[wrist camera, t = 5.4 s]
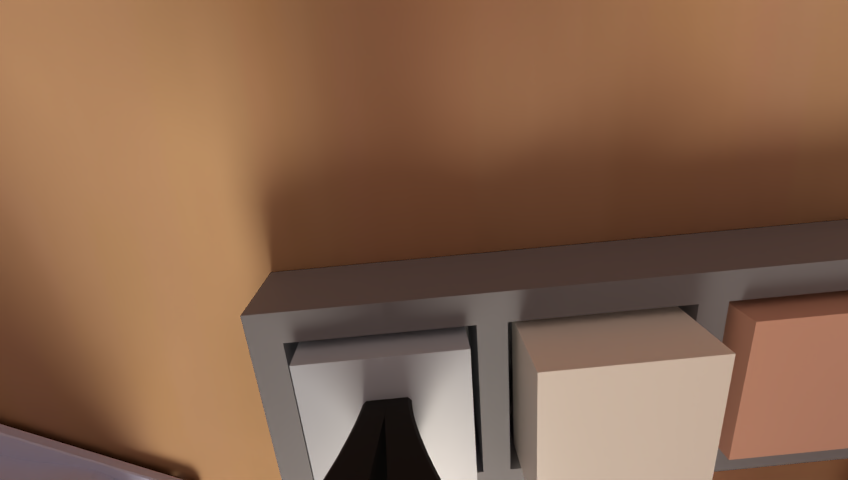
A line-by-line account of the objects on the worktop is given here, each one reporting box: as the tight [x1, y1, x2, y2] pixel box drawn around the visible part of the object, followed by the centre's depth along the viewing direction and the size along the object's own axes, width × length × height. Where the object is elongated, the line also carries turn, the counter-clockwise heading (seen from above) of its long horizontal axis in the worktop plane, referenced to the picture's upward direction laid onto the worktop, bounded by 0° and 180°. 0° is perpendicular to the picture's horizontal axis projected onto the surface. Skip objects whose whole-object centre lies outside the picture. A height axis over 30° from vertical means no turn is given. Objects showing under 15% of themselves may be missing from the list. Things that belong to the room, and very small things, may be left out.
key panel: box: [240, 219, 848, 480], centre depth 15 cm, size 21×8×3 cm, turn 95°
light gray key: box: [289, 326, 477, 480], centre depth 14 cm, size 5×5×3 cm
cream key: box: [512, 306, 736, 480], centre depth 13 cm, size 5×5×3 cm
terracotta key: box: [718, 290, 848, 460], centre depth 14 cm, size 5×5×3 cm
